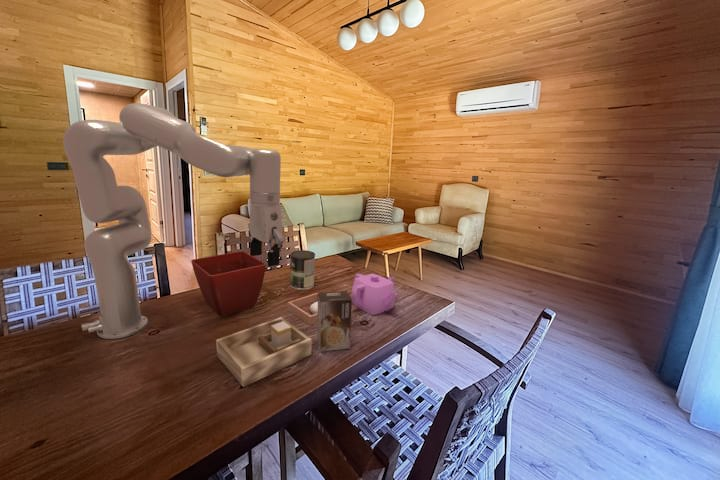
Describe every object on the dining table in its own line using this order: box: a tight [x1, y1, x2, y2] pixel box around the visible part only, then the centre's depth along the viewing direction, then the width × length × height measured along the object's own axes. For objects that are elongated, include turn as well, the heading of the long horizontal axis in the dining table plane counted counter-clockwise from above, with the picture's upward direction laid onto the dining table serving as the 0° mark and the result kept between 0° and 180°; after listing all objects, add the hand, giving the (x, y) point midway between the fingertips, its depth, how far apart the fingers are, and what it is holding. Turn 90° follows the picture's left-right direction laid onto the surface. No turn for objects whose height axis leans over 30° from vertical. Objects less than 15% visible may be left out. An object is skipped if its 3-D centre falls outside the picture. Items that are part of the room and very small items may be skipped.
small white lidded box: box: [271, 321, 291, 348], centre depth 92 cm, size 4×4×6 cm
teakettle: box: [350, 273, 399, 316], centre depth 121 cm, size 17×17×12 cm
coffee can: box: [289, 249, 316, 291], centre depth 135 cm, size 10×10×14 cm
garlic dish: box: [287, 292, 319, 326], centre depth 115 cm, size 14×14×3 cm
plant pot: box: [191, 250, 267, 317], centre depth 113 cm, size 19×19×17 cm
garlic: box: [309, 301, 318, 315], centre depth 115 cm, size 8×7×4 cm
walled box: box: [215, 316, 313, 388], centre depth 89 cm, size 20×16×5 cm
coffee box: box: [316, 290, 353, 353], centre depth 94 cm, size 9×6×16 cm
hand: (264, 260), depth 88 cm, fingers open, 9 cm apart
